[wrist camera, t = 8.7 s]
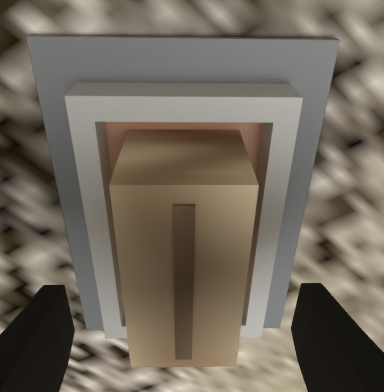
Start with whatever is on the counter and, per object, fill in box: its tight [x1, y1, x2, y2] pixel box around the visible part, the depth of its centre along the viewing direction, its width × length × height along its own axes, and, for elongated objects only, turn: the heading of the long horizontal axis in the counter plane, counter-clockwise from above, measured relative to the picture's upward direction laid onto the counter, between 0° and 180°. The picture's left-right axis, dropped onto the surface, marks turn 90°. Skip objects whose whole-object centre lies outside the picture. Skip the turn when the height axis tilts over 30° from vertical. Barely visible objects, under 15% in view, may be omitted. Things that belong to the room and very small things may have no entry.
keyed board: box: [26, 35, 340, 338], centre depth 15 cm, size 14×10×2 cm
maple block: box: [109, 129, 259, 367], centre depth 14 cm, size 4×8×4 cm, turn 179°
